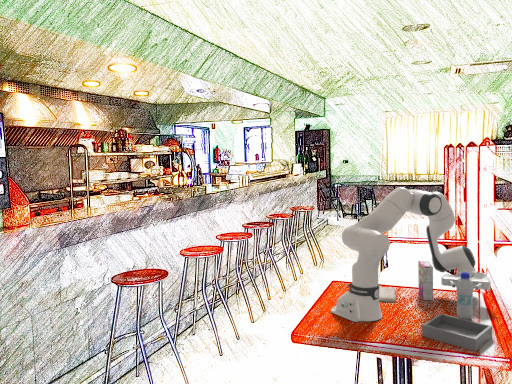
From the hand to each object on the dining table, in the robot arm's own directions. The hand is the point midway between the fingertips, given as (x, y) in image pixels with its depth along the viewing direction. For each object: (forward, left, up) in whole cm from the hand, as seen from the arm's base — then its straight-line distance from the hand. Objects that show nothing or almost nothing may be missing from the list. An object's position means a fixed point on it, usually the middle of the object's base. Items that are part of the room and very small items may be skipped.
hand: (465, 286), depth 201 cm
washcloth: (-37, -5, -12) cm, 39 cm away
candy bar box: (-21, +7, -11) cm, 25 cm away
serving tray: (+9, -29, -11) cm, 32 cm away
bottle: (+4, -9, -11) cm, 15 cm away
